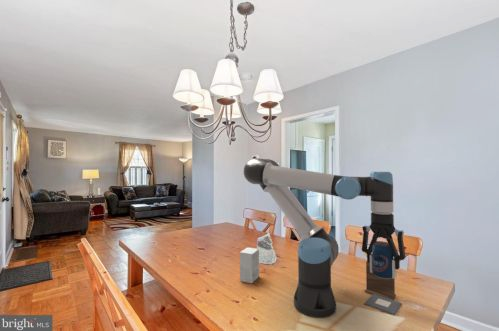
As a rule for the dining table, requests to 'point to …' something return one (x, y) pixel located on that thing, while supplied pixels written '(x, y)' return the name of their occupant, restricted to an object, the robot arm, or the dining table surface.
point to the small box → (249, 265)
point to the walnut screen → (379, 285)
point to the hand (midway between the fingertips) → (383, 274)
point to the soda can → (382, 260)
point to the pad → (383, 304)
